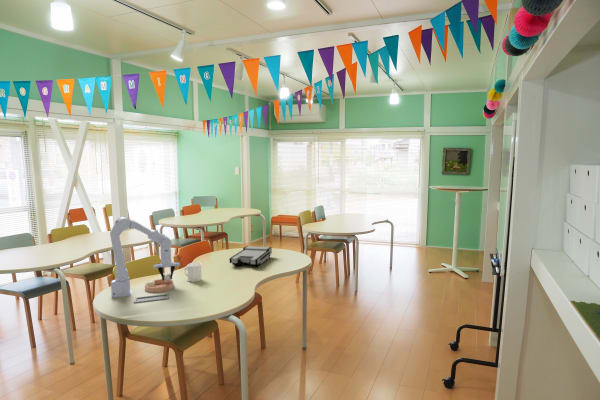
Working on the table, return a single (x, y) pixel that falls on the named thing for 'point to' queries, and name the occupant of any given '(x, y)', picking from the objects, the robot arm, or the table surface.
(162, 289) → the bowl
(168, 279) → the pale grey cylinder
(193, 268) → the mug
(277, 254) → the table surface
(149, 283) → the cream marshmallow
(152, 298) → the parts tray
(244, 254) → the game console
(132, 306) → the table surface
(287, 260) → the table surface
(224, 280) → the table surface
